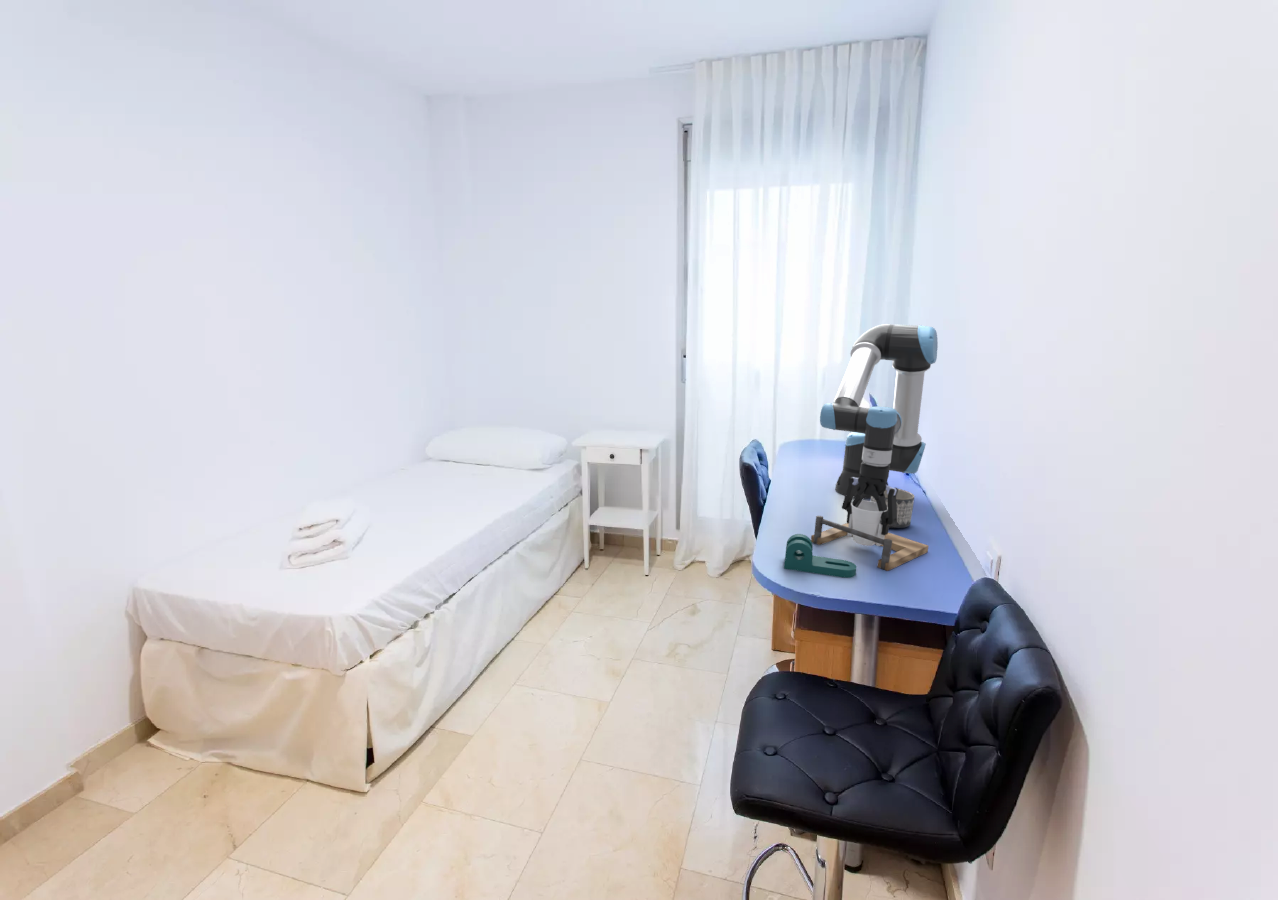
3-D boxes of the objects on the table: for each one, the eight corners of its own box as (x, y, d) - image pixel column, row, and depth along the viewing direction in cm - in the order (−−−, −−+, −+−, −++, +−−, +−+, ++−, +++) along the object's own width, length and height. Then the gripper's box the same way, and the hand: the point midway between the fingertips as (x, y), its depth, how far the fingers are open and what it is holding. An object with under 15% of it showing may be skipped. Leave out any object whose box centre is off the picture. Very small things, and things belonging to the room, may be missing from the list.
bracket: (783, 569, 158) (786, 541, 156) (785, 559, 164) (787, 532, 162) (856, 580, 153) (860, 551, 151) (854, 569, 159) (858, 541, 157)
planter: (864, 515, 202) (868, 485, 199) (905, 519, 199) (909, 489, 197) (871, 528, 190) (875, 496, 187) (913, 532, 187) (918, 501, 185)
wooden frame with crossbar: (852, 526, 190) (855, 502, 188) (927, 552, 172) (931, 525, 170) (810, 541, 176) (813, 516, 175) (887, 571, 158) (891, 542, 157)
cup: (838, 538, 175) (843, 501, 172) (865, 534, 179) (869, 498, 176) (863, 551, 166) (868, 513, 163) (890, 546, 170) (896, 509, 167)
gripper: (834, 456, 172) (825, 530, 178) (905, 474, 157) (893, 555, 162) (849, 453, 177) (840, 525, 182) (919, 469, 161) (907, 548, 167)
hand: (865, 539), depth 172 cm, fingers closed on cup, 8 cm apart
